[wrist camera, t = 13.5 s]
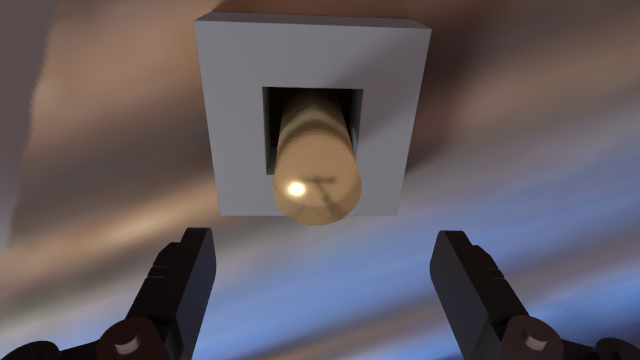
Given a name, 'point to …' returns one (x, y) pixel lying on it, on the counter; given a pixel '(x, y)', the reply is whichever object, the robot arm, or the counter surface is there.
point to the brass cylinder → (315, 159)
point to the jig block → (308, 72)
